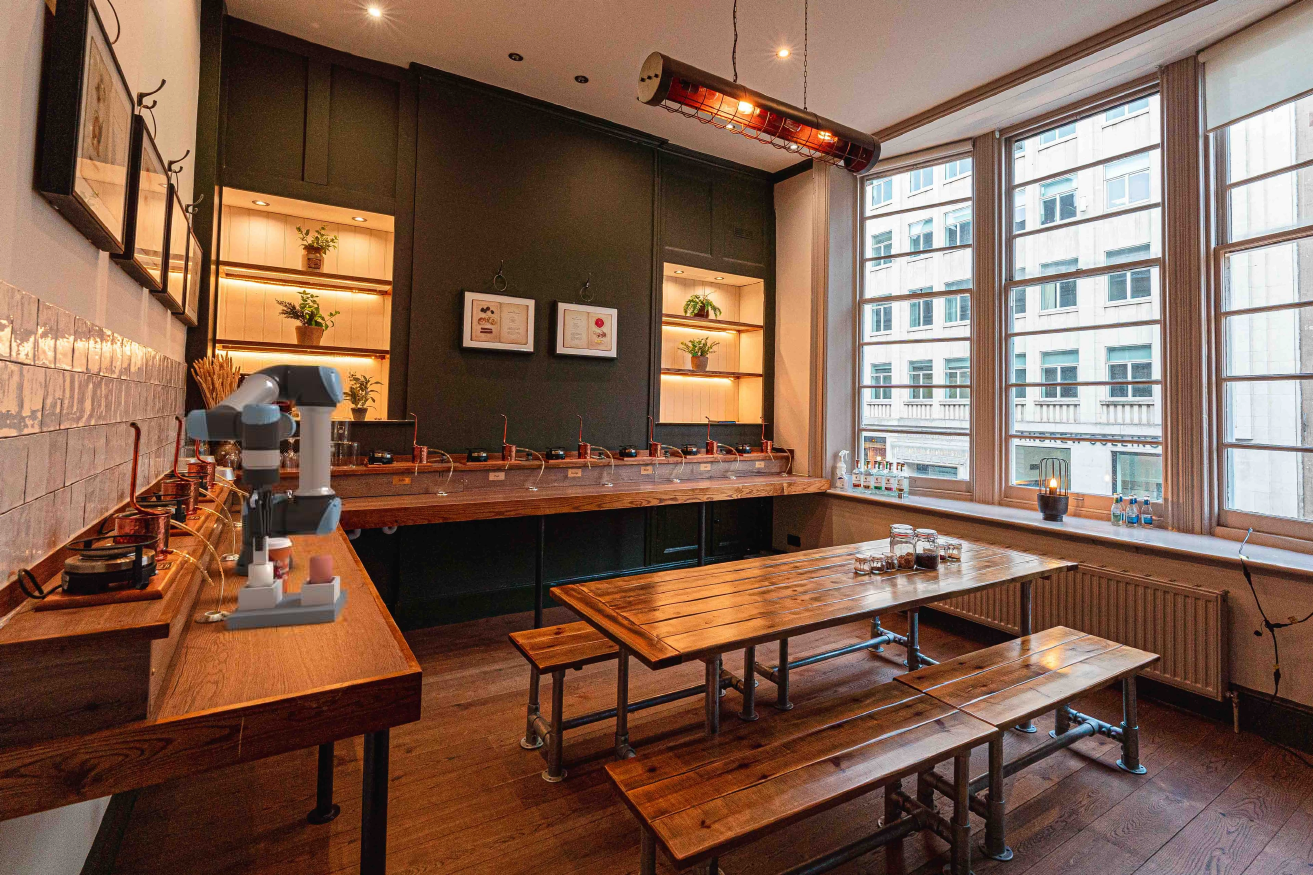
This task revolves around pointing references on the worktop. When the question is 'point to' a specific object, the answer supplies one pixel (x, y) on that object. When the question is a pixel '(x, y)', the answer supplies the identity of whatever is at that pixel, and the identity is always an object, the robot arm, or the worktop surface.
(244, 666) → the worktop surface
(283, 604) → the board
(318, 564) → the red plug
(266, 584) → the plug
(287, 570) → the coffee cup
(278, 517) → the robot arm
